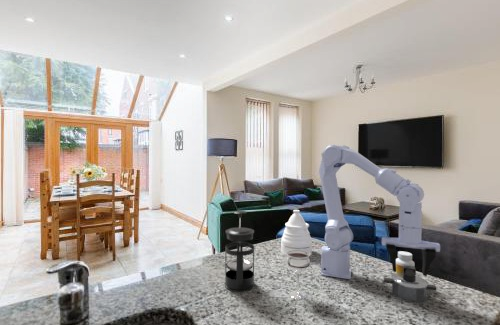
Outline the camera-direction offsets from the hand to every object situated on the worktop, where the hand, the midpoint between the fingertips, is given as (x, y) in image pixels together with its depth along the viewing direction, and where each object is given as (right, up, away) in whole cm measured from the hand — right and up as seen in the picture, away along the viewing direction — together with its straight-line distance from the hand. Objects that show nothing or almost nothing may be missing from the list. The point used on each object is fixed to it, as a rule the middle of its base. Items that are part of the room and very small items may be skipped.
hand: (409, 272), depth 80 cm
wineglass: (-32, -7, 0) cm, 33 cm away
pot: (0, -7, 0) cm, 7 cm away
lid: (0, -3, 0) cm, 3 cm away
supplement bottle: (+3, -7, +8) cm, 11 cm away
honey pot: (-27, -6, +36) cm, 45 cm away
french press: (-49, -6, +6) cm, 50 cm away
